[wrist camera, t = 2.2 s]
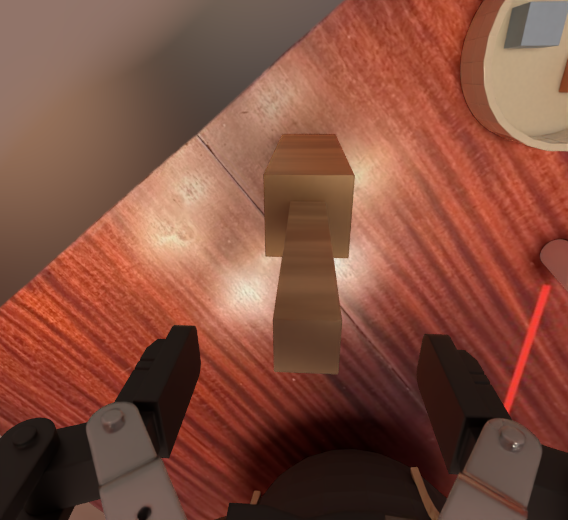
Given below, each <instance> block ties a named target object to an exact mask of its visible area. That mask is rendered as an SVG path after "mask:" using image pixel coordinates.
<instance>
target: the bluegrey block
mask: <svg viewBox="0 0 568 520" xmlns="http://www.w3.org/2000/svg"><path fill="white" fill-rule="evenodd" d="M567 14H568V1H536V2H528V3H526V4H523V5H520V6H517V7H514V8H512V12H511V17H510V21H509V26H508V31H507V35H506V40H505V45H504V48H544V47H552V46H559V43H560V40H561V36H562V32H563V29H564V25H565V21H566V17H567Z"/></svg>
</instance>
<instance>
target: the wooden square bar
mask: <svg viewBox="0 0 568 520" xmlns="http://www.w3.org/2000/svg"><path fill="white" fill-rule="evenodd" d="M341 329H342V317H341V310H340V302H339V295H338V288H337V280H336V273H335V266H334V258H333V251H332V244H331V236H330V229H329V222H328V214H327V207H326V202H296V201H291V202H290V208H289V215H288V221H287V228H286V235H285V241H284V248H283V255H282V262H281V268H280V275H279V282H278V289H277V295H276V302H275V309H274V315H273V348H274V371H275V372H294V373H320V374H338V370H339V356H340V343H341Z"/></svg>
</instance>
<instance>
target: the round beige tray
mask: <svg viewBox="0 0 568 520" xmlns="http://www.w3.org/2000/svg"><path fill="white" fill-rule="evenodd" d="M536 1H568V0H484V1H483V2H482V4H481V5H480V7H479V9H478V10H477V12H476V14H475V16H474V18H473V20H472V22H471V24H470V26H469V29H468V32H467V35H466V38H465V41H464V45H463V49H462V55H461V64H460V78H461V85H462V90H463V94H464V98H465V100H466V103H467V105H468V107H469V109H470V111H471V112H472V114H473V115H474V117H475V118H476V119H477V120H478V121H479V123H480V124H481V125H483V126H484V127H485V128H486V129H488V130H489V131H490V132H492V133H494V134H496V135H498V136H500V137H502V138H504V139H507V140H510V141H514V142H517V143H520V144H523V145H527V146H530V147H534V148H538V149H542V150H546V151H568V93H561V92H559V88H560V85H561V81H562V78H563V74H564V71H565V67H566V64H567V60H568V14H567V17H566V21H565V25H564V29H563V32H562V36H561V40H560V43H559V46H552V47H544V48H504V45H505V40H506V35H507V31H508V26H509V21H510V17H511V12H512V8H514V7H517V6H520V5H523V4H526V3H528V2H536Z"/></svg>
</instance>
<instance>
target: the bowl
mask: <svg viewBox="0 0 568 520" xmlns="http://www.w3.org/2000/svg"><path fill="white" fill-rule="evenodd" d="M260 498H261V499H260ZM446 500H447V499H446V497H445V496H444V495H442V494H441V493H440V492H439V491H438V490H437V489H436V488H435V487H433V486H432V485H431V484H430V483H429V482H428V481H426V480H425V479H424V478H423V477H422V476H421V475H420V472H419V469H418V467H411V468H410V467H408V466H406V465H404V464H403V463H401V462H398V461H396V460H394V459H391V458H389V457H386V456H384V455H382V454H379V453H374V452H369V451H363V450H357V449H341V450H331V451H327V452H324V453H320V454H317V455H313V456H310V457H307V458H305V459H304V460H302V461H300V462H299V463H297V464H296V465H294V466H292V467H291V468H289V469H288V470H286V471H285V472H284V473H282V474H281V475H280V476H279V477H278V478H277V479H276V480H275V481H274V483H273V484H272V485H271V486H270V487H269V489H268V490H267V491H266V492H265V494H264V495H263V496H262V497H261V493H260V491H254V493H253V497H252V500H251V503H250V504H259V505H268V506H271V507H274V508H277V509H280V510H283V511H286V512H289V513H292V514H295V515H298V516H301V517H304V518H309V517H314V516H319V515H323V514H328V513H332V512H337V511H341V510H362V511H379V512H385V518H386V520H437V519H438V517H439V515H440V513H441V511H442V508H443V506H444V504H445V502H446Z"/></svg>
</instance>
